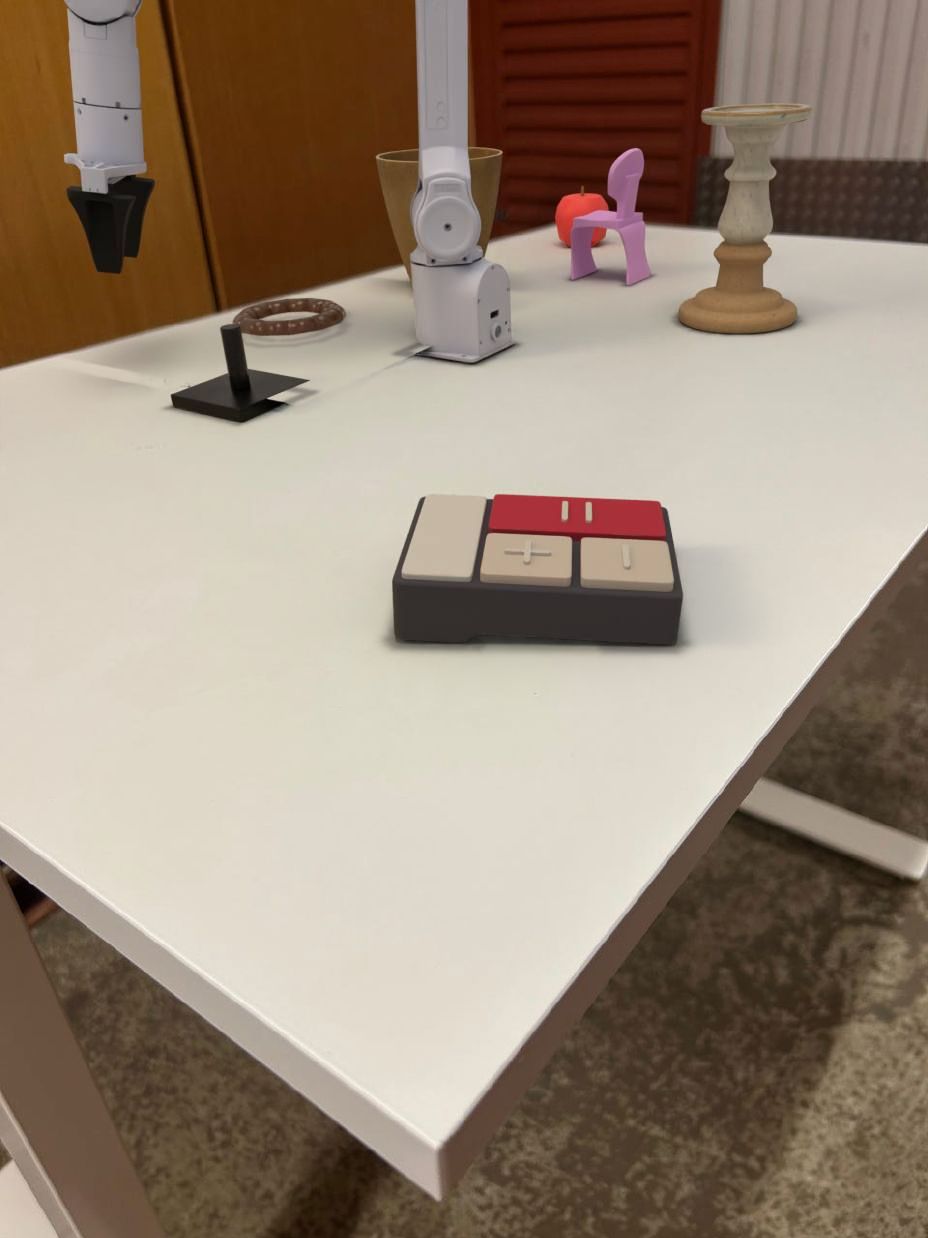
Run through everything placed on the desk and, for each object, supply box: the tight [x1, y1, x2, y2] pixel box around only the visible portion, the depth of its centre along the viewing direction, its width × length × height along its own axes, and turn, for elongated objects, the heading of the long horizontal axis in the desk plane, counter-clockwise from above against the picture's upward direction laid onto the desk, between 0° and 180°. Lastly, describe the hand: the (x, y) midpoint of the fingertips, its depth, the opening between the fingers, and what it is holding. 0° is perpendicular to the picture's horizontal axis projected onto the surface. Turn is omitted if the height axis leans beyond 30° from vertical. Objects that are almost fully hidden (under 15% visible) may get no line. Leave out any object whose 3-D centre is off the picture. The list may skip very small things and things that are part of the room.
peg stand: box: [170, 323, 311, 423], centre depth 87 cm, size 9×9×7 cm
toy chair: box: [570, 147, 652, 286], centre depth 119 cm, size 8×9×15 cm
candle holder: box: [677, 102, 813, 334], centre depth 98 cm, size 12×12×20 cm
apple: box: [554, 185, 610, 248], centre depth 141 cm, size 8×8×8 cm
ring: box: [231, 297, 347, 337], centre depth 108 cm, size 12×12×2 cm
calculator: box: [391, 493, 684, 645], centre depth 54 cm, size 11×4×15 cm
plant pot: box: [375, 146, 504, 284], centre depth 116 cm, size 15×15×16 cm
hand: (118, 263), depth 92 cm, fingers open, 7 cm apart
